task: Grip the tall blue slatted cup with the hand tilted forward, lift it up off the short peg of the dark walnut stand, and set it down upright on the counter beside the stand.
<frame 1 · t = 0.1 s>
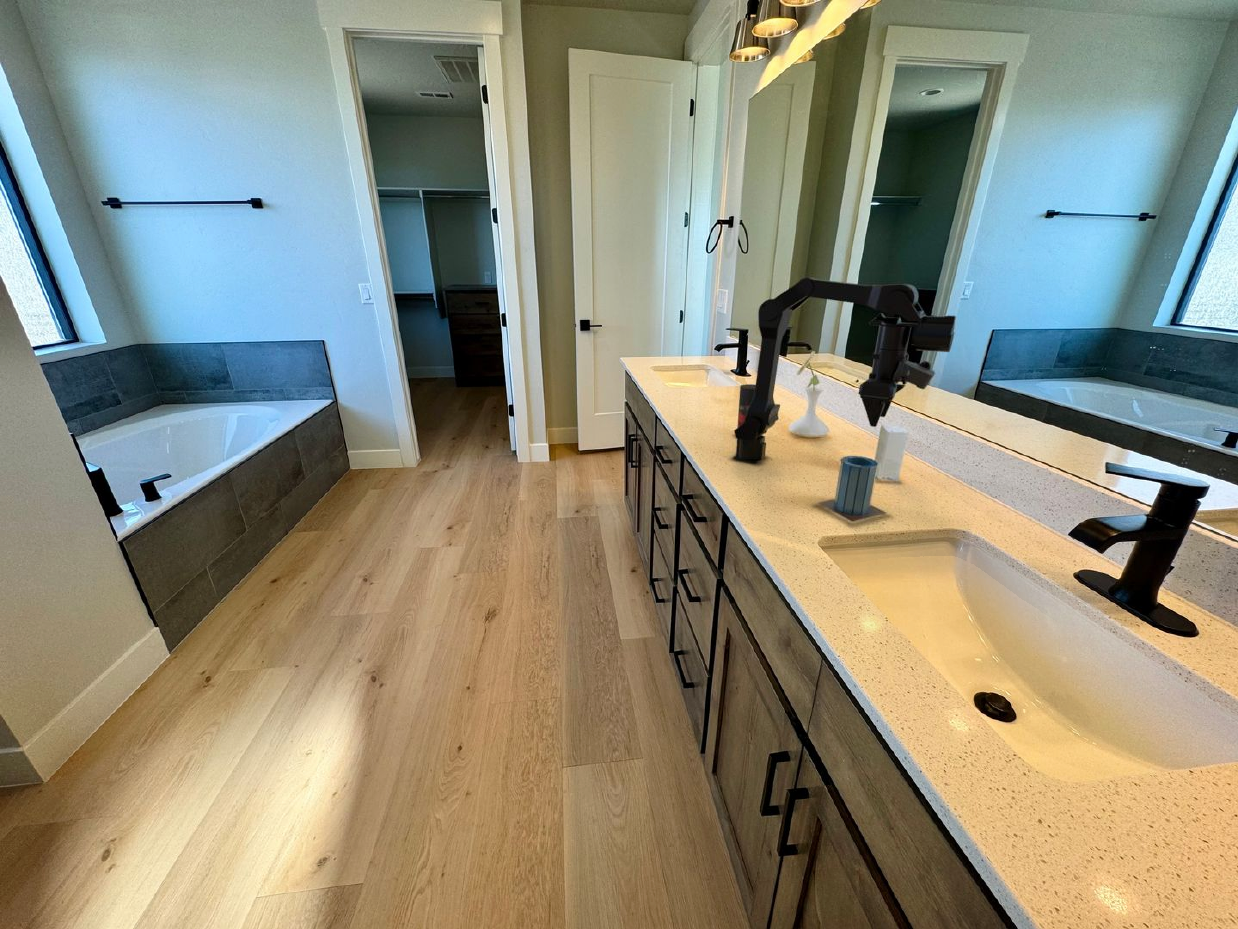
hand: (877, 421, 107), 15 cm above the worktop, tool pointing down, fingers open, 9 cm apart
blue slatted cup: (851, 507, 99), point 1 cm above the worktop, touching walnut stand
flower in vase: (806, 436, 146), on the worktop
walnut stand: (850, 511, 99), on the worktop
cosmetic box: (884, 478, 115), on the worktop
deodorant: (746, 437, 145), on the worktop
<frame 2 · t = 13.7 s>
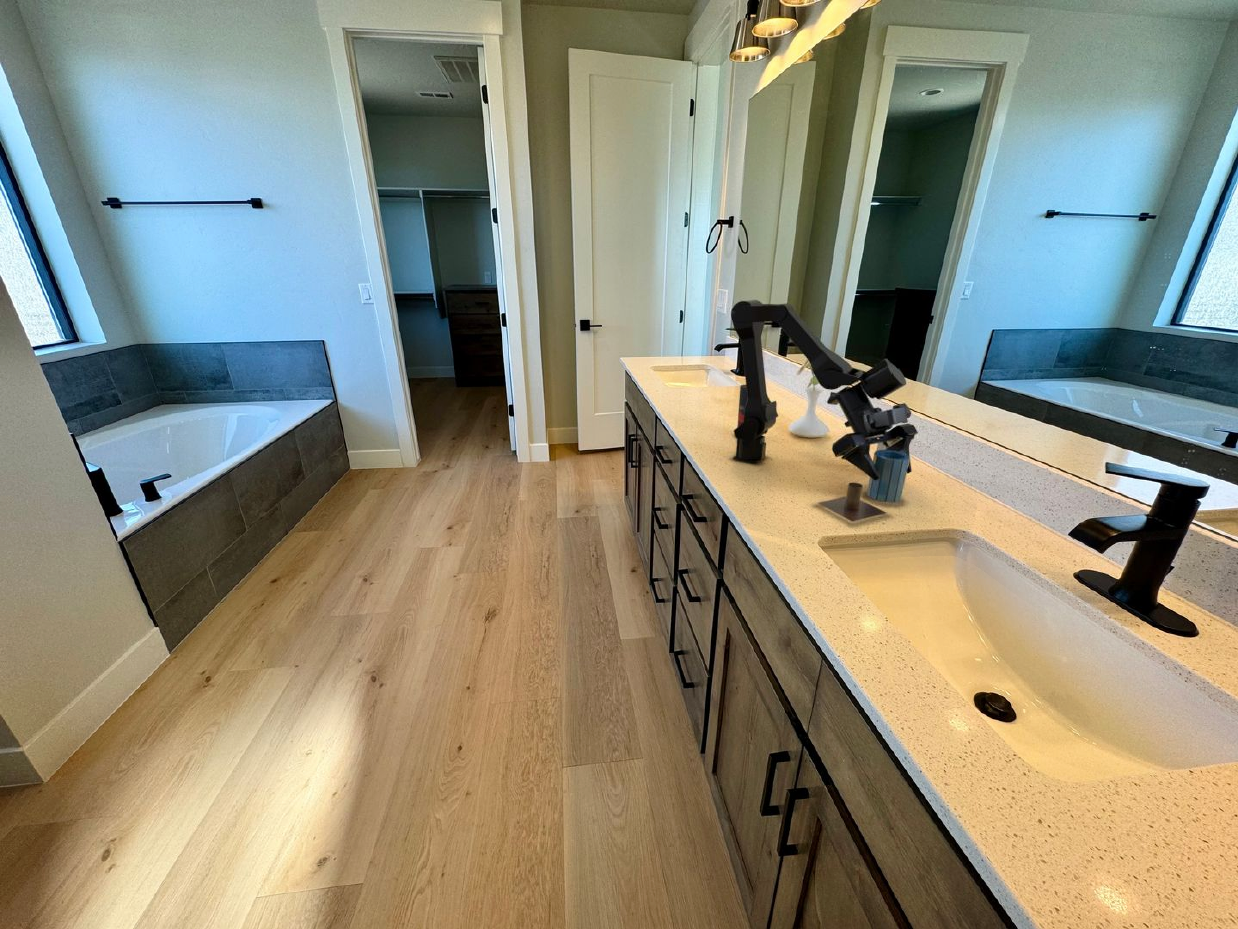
hand: (893, 476, 101), 6 cm above the worktop, tool tilted 45°, fingers open, 9 cm apart
blue slatted cup: (883, 499, 104), on the worktop
cosmetic box: (884, 478, 115), on the worktop, touching gripper
everything else where it was.
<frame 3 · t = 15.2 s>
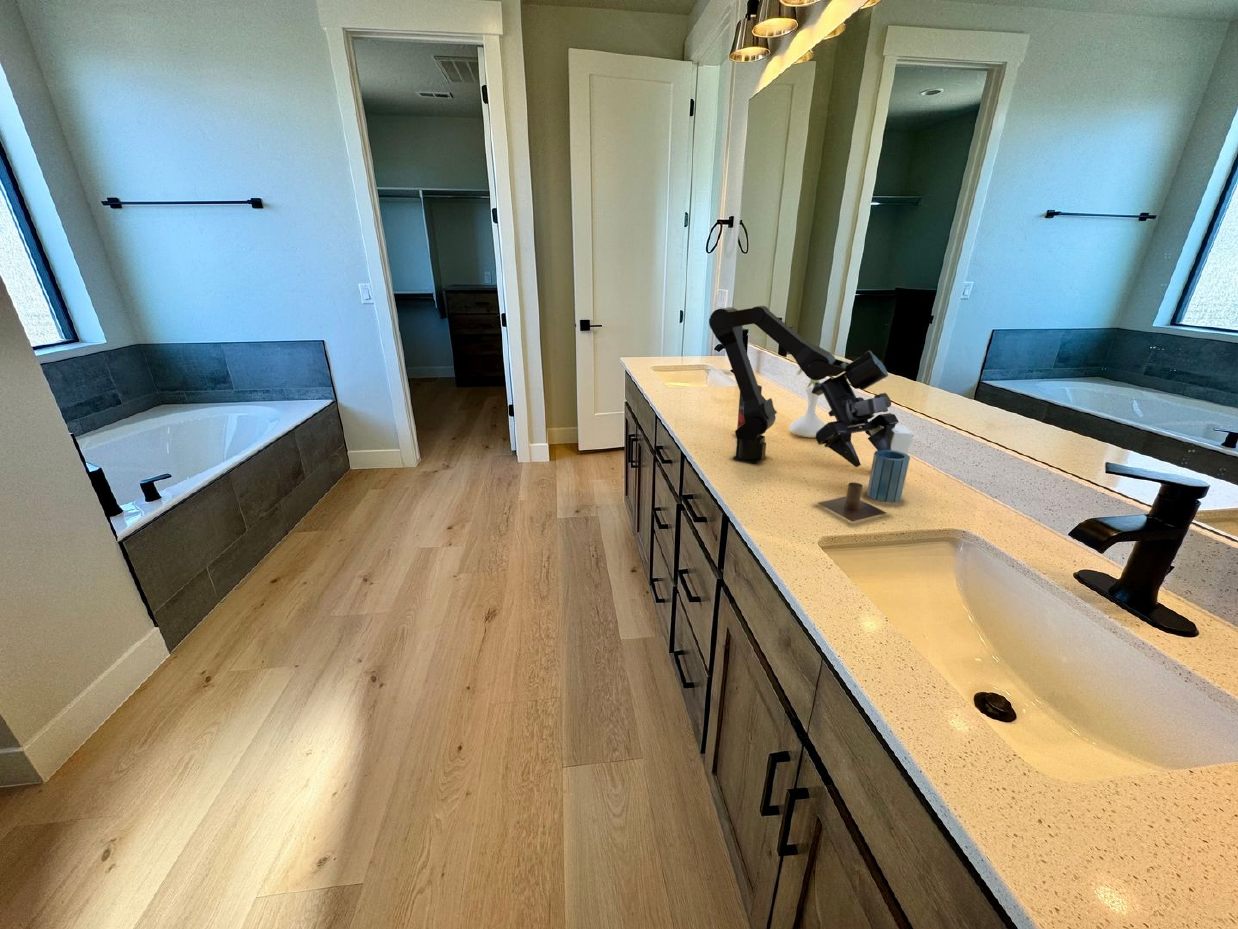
hand: (874, 463, 105), 7 cm above the worktop, tool tilted 45°, fingers open, 9 cm apart
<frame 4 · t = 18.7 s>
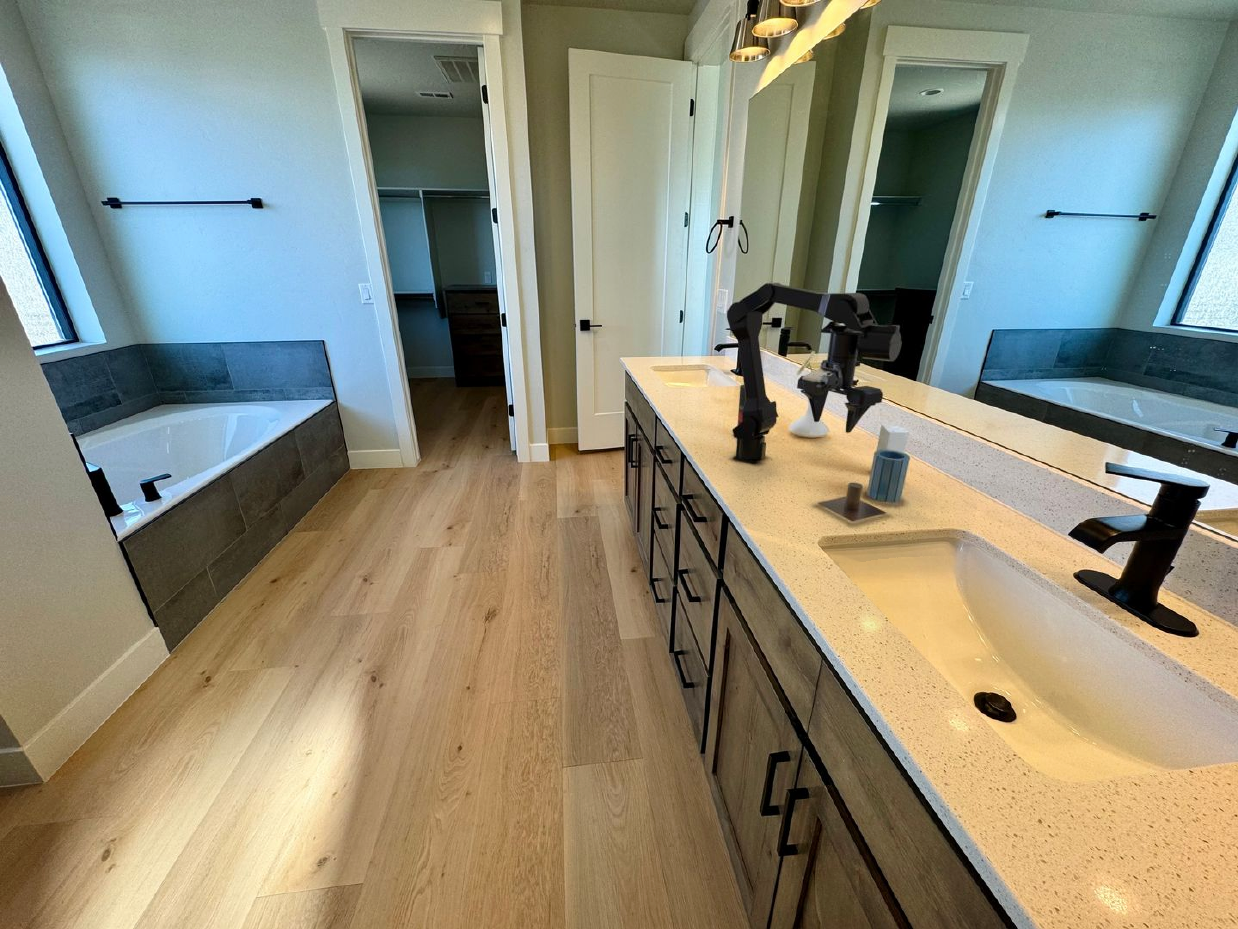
hand: (831, 426, 109), 13 cm above the worktop, tool pointing down, fingers open, 9 cm apart
cosmetic box: (885, 478, 115), on the worktop
everything else where it was.
at the end: blue slatted cup inside the target area (0.1 cm from its centre), on the worktop; blue slatted cup tilted 0°; the gripper is holding nothing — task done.
